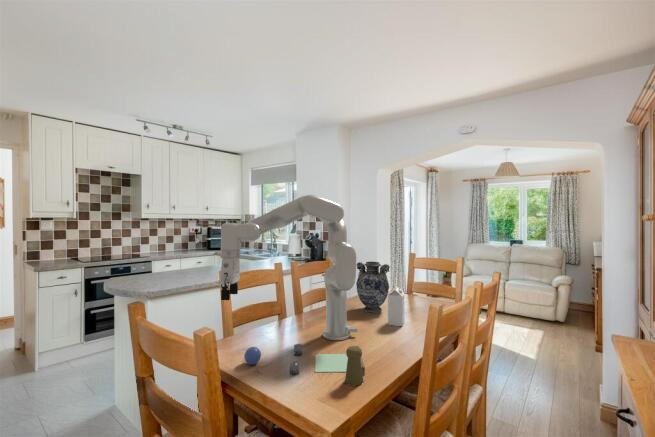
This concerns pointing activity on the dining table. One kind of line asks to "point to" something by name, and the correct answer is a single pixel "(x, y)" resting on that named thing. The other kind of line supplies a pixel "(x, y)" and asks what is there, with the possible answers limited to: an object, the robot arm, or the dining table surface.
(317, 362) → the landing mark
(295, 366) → the post
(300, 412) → the dining table surface
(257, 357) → the ball
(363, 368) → the stopper strip
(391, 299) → the milk carton
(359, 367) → the olive knobbed tapered cylinder
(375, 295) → the decorative vase
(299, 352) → the post
